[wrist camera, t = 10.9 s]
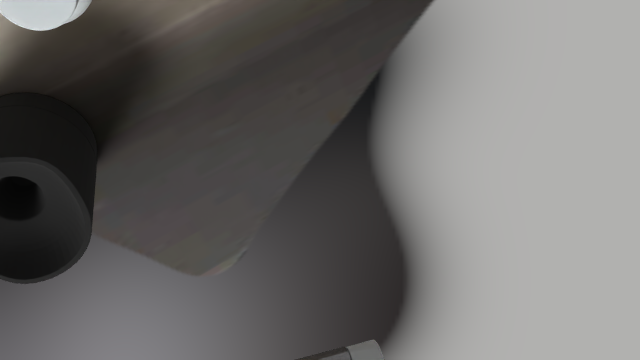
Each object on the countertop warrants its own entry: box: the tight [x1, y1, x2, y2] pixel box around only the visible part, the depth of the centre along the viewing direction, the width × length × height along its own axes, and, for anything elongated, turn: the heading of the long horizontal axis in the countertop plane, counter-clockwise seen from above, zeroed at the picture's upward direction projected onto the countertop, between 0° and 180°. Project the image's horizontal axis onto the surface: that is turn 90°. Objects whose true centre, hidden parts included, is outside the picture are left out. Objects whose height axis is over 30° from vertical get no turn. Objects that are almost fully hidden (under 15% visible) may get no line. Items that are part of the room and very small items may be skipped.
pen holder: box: [0, 93, 97, 284], centre depth 38 cm, size 9×9×10 cm
